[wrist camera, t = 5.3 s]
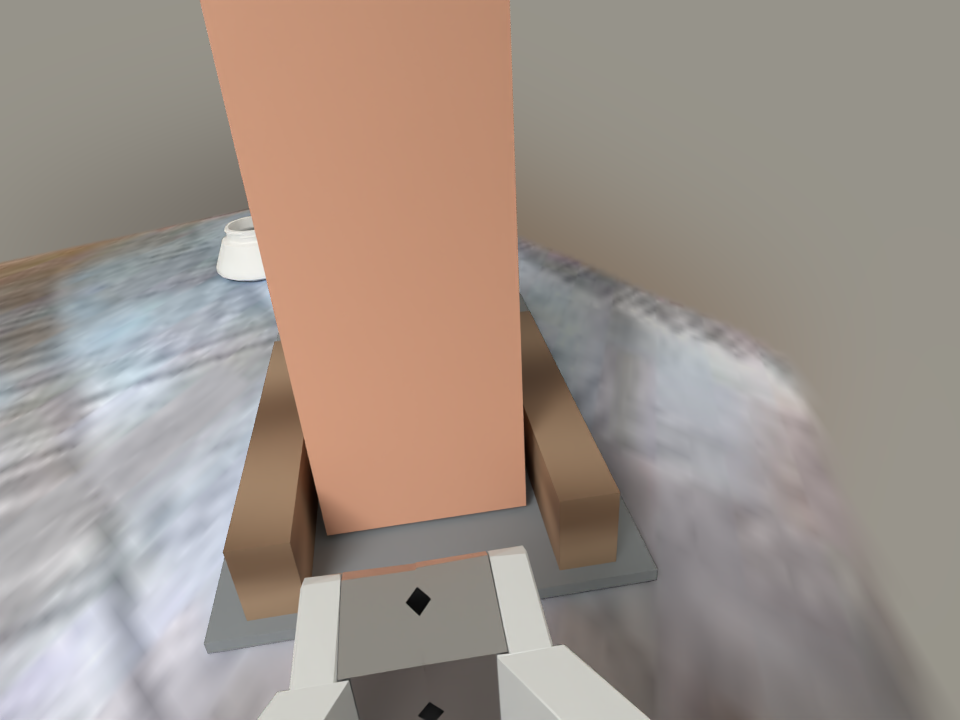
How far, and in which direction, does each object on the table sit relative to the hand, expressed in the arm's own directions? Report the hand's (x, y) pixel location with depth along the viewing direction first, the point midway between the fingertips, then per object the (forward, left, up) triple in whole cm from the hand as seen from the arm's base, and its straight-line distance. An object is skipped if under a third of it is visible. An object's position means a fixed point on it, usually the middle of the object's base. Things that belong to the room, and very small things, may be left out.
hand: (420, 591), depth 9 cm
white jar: (-27, +20, -8) cm, 35 cm away
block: (-7, +9, -7) cm, 14 cm away
